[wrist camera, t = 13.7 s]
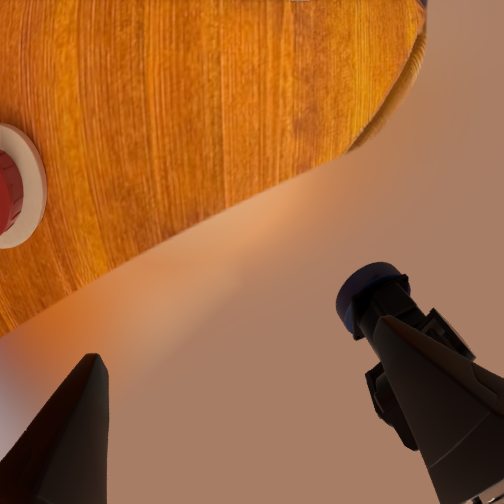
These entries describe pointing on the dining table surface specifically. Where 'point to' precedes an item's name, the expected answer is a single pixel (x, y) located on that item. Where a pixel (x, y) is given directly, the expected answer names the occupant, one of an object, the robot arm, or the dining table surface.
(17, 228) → the coaster
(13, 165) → the jar lid
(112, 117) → the dining table surface
